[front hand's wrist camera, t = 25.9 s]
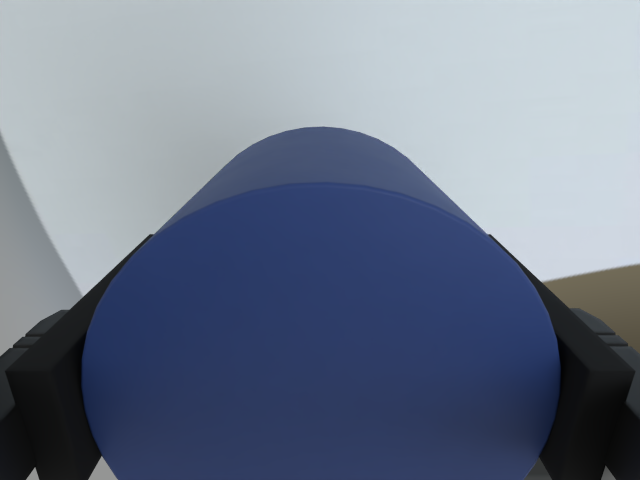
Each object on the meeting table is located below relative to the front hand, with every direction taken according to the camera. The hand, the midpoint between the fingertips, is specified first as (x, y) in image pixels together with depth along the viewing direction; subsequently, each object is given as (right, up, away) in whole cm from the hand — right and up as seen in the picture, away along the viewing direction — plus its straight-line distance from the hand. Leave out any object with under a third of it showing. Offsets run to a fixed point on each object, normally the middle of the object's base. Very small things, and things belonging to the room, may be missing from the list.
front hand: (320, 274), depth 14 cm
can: (0, 0, +1) cm, 2 cm away
